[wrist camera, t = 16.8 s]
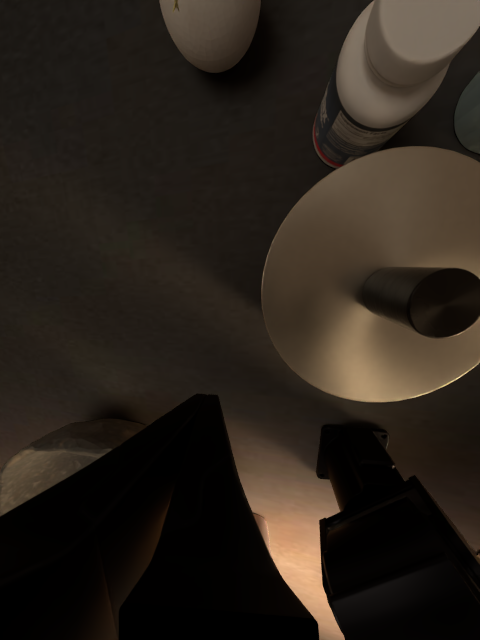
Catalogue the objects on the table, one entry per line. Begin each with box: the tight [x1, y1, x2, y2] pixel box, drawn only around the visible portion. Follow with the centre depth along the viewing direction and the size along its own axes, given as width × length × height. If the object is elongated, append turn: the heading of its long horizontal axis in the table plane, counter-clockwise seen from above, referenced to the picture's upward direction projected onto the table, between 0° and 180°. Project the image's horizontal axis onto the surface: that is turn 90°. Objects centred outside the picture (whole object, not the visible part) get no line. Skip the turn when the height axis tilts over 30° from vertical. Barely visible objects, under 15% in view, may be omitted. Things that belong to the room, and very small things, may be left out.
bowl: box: [0, 418, 147, 516], centre depth 22 cm, size 18×18×8 cm
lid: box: [261, 146, 480, 402], centre depth 9 cm, size 12×12×5 cm
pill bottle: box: [313, 0, 480, 169], centre depth 12 cm, size 5×5×9 cm
